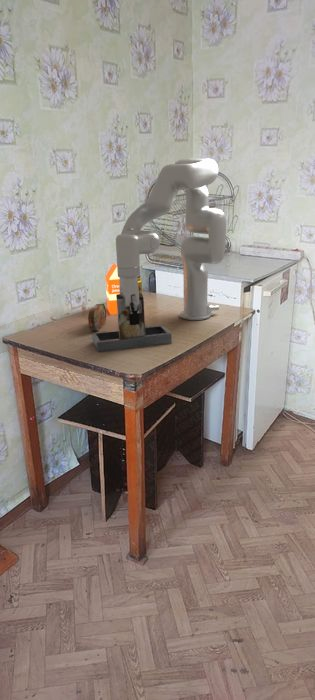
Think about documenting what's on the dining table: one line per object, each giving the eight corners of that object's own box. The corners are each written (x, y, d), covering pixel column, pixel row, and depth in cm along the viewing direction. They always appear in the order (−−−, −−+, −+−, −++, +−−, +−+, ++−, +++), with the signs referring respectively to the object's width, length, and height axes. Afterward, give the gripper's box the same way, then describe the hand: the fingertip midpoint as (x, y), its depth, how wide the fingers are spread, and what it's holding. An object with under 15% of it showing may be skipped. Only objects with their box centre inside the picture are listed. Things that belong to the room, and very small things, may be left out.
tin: (95, 333, 193) (94, 312, 190) (87, 333, 193) (86, 311, 190) (107, 321, 206) (106, 301, 203) (100, 321, 207) (98, 300, 204)
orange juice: (110, 314, 215) (107, 266, 208) (107, 308, 223) (104, 262, 216) (128, 312, 217) (126, 265, 210) (125, 307, 225) (122, 261, 218)
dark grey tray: (162, 334, 190) (162, 324, 189) (171, 343, 181) (171, 333, 179) (92, 342, 183) (91, 333, 182) (97, 352, 174) (97, 342, 173)
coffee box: (144, 336, 185) (142, 292, 180) (146, 342, 179) (144, 297, 174) (118, 337, 184) (116, 293, 179) (119, 343, 178) (117, 298, 173)
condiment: (133, 303, 230) (132, 277, 226) (123, 299, 237) (121, 273, 232) (146, 300, 234) (145, 274, 230) (136, 297, 241) (135, 271, 236)
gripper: (112, 267, 180) (115, 314, 186) (123, 278, 164) (126, 329, 171) (133, 265, 182) (135, 312, 188) (146, 275, 166) (148, 326, 172)
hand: (131, 320), depth 179 cm, fingers open, 9 cm apart
